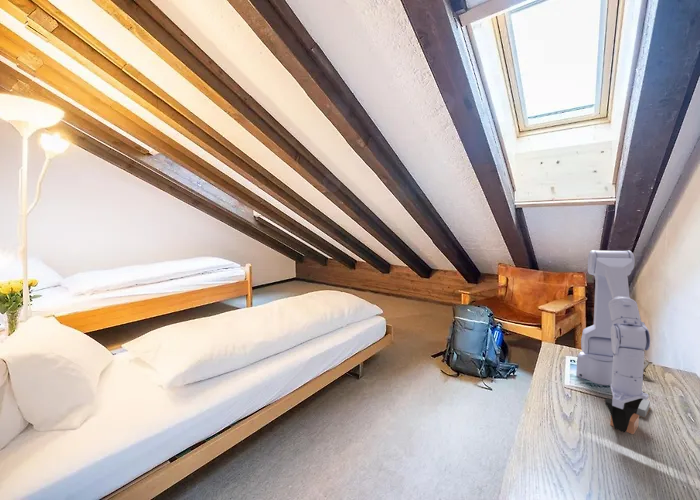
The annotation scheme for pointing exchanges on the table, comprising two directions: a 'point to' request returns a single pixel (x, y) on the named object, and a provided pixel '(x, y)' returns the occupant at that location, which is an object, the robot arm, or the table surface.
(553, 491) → the table surface
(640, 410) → the slate slab
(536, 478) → the table surface
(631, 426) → the terracotta block
